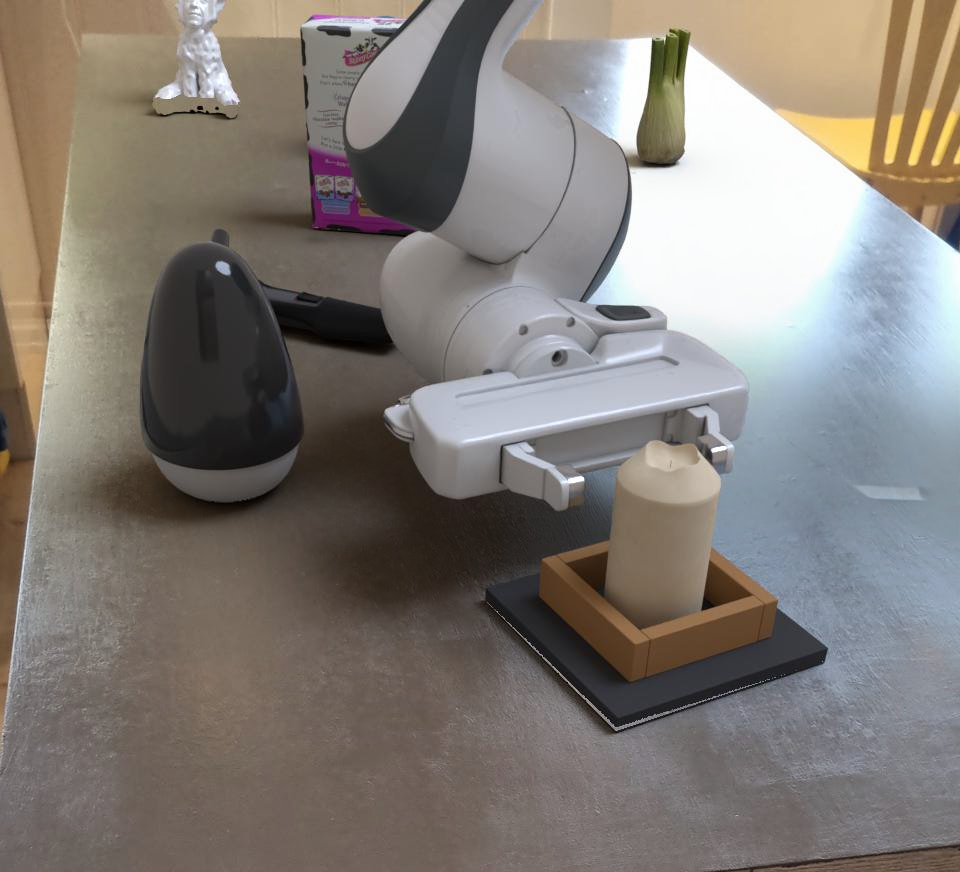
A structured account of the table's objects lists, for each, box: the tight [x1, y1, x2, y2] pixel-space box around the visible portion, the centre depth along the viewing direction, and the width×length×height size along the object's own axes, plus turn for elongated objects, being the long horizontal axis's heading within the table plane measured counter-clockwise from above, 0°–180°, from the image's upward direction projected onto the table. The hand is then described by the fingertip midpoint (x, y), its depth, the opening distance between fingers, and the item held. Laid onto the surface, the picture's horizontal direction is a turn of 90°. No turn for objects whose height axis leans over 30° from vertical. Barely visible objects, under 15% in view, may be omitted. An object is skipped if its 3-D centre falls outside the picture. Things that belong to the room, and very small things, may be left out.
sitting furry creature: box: [153, 0, 241, 106], centre depth 148 cm, size 10×9×12 cm
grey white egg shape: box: [139, 228, 305, 503], centre depth 85 cm, size 10×10×15 cm
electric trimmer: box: [257, 278, 394, 345], centre depth 107 cm, size 4×16×3 cm, turn 66°
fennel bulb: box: [635, 27, 691, 165], centre depth 138 cm, size 6×5×12 cm
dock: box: [484, 539, 829, 733], centre depth 77 cm, size 14×14×4 cm
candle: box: [604, 440, 722, 630], centre depth 74 cm, size 6×6×10 cm
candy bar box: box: [299, 14, 418, 236], centre depth 120 cm, size 11×5×16 cm, turn 82°
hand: (649, 479), depth 74 cm, fingers open, 8 cm apart
